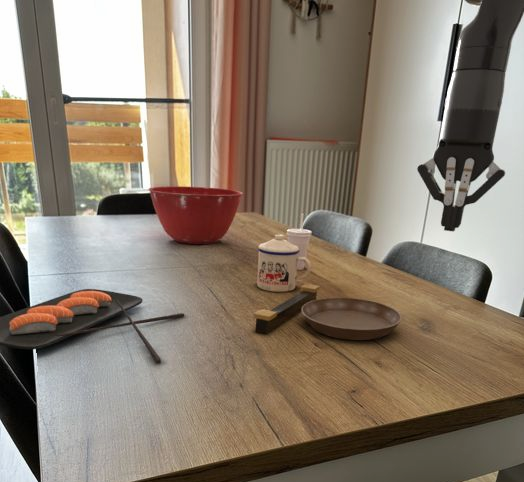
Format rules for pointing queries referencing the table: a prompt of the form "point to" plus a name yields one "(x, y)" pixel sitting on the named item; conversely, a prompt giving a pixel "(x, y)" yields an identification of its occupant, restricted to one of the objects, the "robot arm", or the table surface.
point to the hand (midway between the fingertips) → (449, 230)
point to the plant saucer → (351, 318)
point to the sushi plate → (70, 319)
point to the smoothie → (300, 241)
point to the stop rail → (284, 309)
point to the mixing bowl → (195, 212)
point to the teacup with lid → (279, 265)
